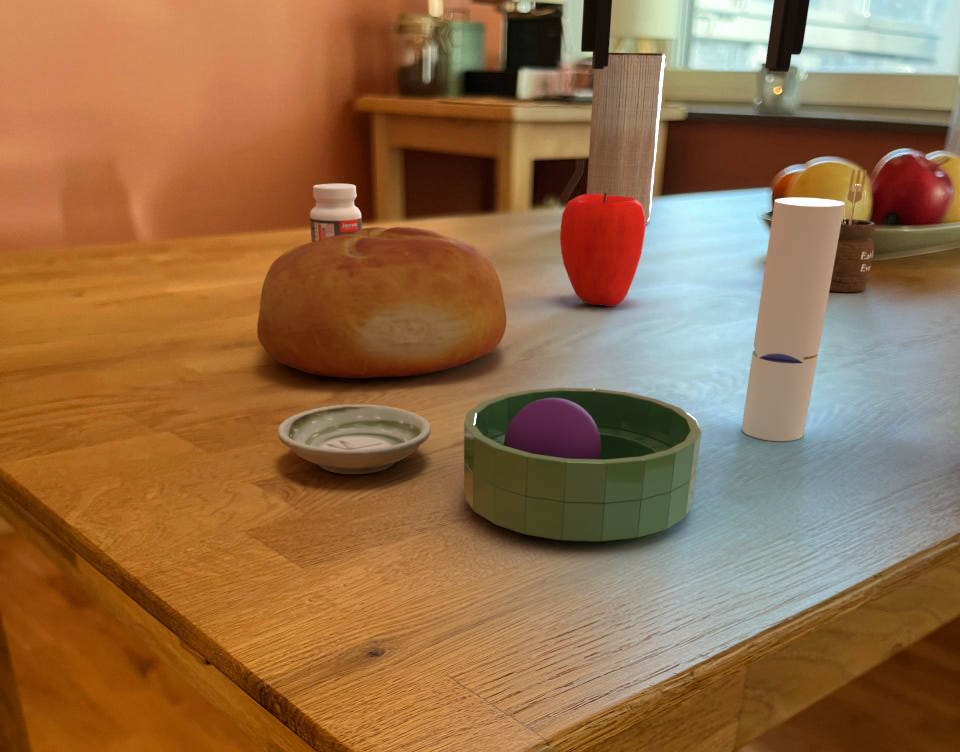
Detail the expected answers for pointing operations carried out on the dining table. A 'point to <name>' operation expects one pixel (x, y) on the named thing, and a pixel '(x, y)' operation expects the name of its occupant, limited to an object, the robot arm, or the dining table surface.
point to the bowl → (584, 469)
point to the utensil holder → (853, 246)
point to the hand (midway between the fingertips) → (687, 69)
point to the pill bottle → (334, 211)
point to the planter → (626, 127)
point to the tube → (791, 316)
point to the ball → (554, 430)
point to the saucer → (354, 436)
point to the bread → (381, 304)
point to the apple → (602, 246)
